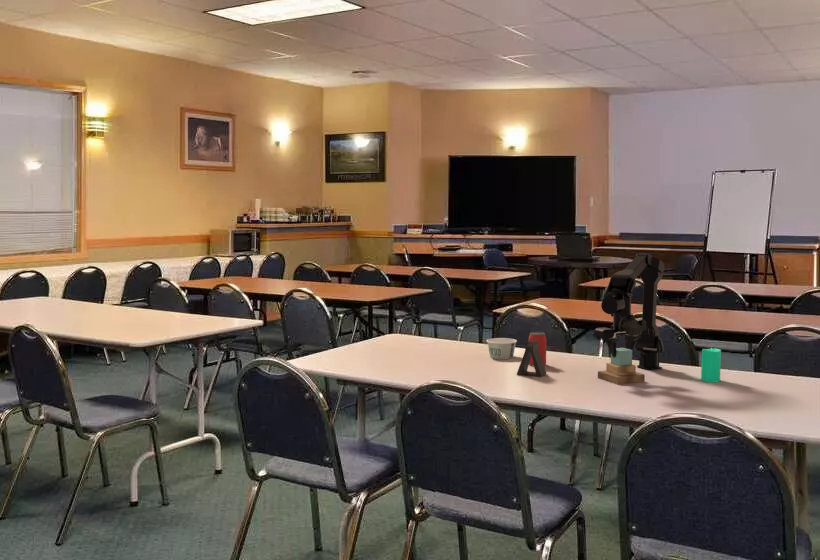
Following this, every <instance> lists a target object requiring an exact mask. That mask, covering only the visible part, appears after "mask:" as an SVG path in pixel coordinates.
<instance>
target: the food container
mask: <svg viewBox="0 0 820 560" xmlns="http://www.w3.org/2000/svg"><path fill="white" fill-rule="evenodd" d="M485 341H486V342H487V346H488V347H487V348H488V353H489V357H490V358H492V359H496V360H497V359H498V360H506V359H512V358H514V354H515V349H516V344H517V342H518V340H517V339H514V338H508V337H495V338H488V339H486V340H485Z"/></svg>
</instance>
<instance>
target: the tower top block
mask: <svg viewBox="0 0 820 560" xmlns="http://www.w3.org/2000/svg"><path fill="white" fill-rule="evenodd" d="M605 367H606V370H605V371H606V372H609V373H611V374H614V375H616V376H620V375H633V374H636V372H637V371H636V367H637V365H636V364H633V363H632V365H624V366H618V365H615V364H611V362H606V366H605Z"/></svg>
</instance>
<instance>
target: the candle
mask: <svg viewBox="0 0 820 560" xmlns="http://www.w3.org/2000/svg"><path fill="white" fill-rule="evenodd" d="M712 346H713V344H712V345H710V347H711V348H707V349H706V348H702V350H701V367H700V368H701V370H700V381H703V382H706V383H719V382H721V367H722V366H721V364H722V363H721V362H722V361H721V360H722V358H721V357H722V349H718V348H716V347H715V348H712Z"/></svg>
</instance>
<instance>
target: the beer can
mask: <svg viewBox="0 0 820 560" xmlns="http://www.w3.org/2000/svg"><path fill="white" fill-rule="evenodd" d="M531 340H533V341H534V340H537V341H538V349H539V352H540V355H541V358H542V361H543V364H544V366H545V365H546V364H547V337H546V333H545V332H543V331H532V332H529V336H528V342H529V341H531ZM531 345H532V344H531ZM528 366H533V367H534V364H533V360H532V355H531V358H530V362H529V365H528Z"/></svg>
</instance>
